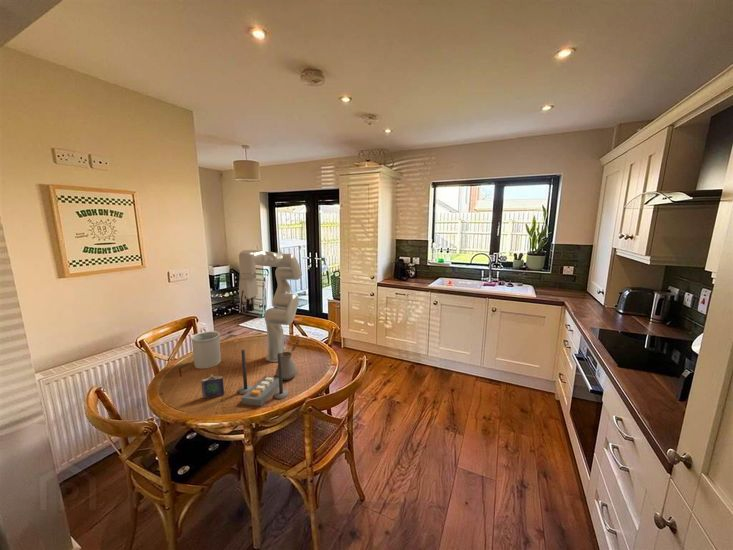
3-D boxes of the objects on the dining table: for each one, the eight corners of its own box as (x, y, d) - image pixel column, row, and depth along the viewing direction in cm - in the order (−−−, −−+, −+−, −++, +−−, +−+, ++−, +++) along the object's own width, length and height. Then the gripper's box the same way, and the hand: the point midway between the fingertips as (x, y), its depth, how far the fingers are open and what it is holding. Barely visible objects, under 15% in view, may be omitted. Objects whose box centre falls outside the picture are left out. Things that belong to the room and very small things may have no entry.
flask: (202, 399, 136) (200, 378, 134) (203, 395, 138) (201, 375, 137) (223, 395, 139) (222, 374, 137) (224, 392, 141) (223, 371, 140)
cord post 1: (243, 386, 147) (241, 347, 143) (255, 388, 145) (252, 348, 142) (236, 393, 140) (232, 352, 137) (247, 395, 139) (245, 353, 136)
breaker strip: (264, 381, 152) (264, 373, 151) (282, 383, 150) (282, 375, 149) (241, 403, 132) (240, 394, 132) (261, 406, 130) (260, 397, 130)
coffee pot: (291, 383, 150) (289, 356, 148) (271, 380, 153) (269, 353, 150) (308, 364, 170) (308, 340, 168) (291, 362, 173) (290, 338, 171)
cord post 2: (278, 390, 143) (276, 350, 140) (290, 392, 142) (288, 351, 138) (271, 398, 137) (269, 355, 133) (284, 399, 136) (282, 357, 132)
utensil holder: (227, 358, 178) (225, 331, 176) (212, 370, 164) (209, 340, 161) (204, 357, 180) (202, 330, 177) (187, 368, 165) (184, 339, 162)
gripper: (250, 273, 155) (252, 306, 158) (232, 278, 141) (234, 314, 144) (262, 273, 154) (264, 307, 157) (246, 278, 139) (248, 315, 142)
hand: (250, 310), depth 150 cm, fingers closed
